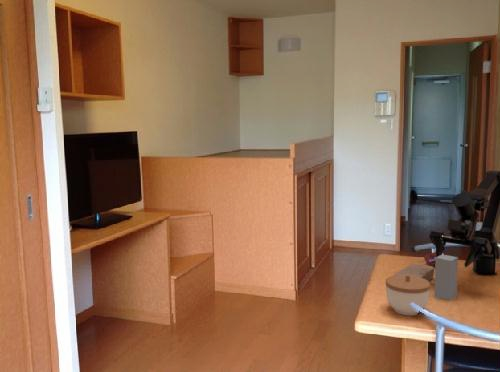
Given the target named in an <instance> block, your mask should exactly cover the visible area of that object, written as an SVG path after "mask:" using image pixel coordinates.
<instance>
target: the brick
mask: <svg viewBox="0 0 500 372" xmlns="http://www.w3.org/2000/svg"><path fill="white" fill-rule="evenodd" d="M395 275H411V276H416V277H420V278H423V279H426V280H427V281H429V282H430V281H431V280H433V278H434V277H435V266H434V267H433V265H427V264H419V263H410V264H409V265H407V266H406V267H404V268H402V269H400V270H399V271H396V272H395V273H393V276H395Z"/></svg>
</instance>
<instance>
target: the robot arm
mask: <svg viewBox="0 0 500 372" xmlns="http://www.w3.org/2000/svg"><path fill="white" fill-rule="evenodd" d="M451 204H452V206H453V207H454V210H455V211H456V214H457V215H458V216H459V217H458V220H455V219H448V221H447V225H446V230H448V231H449V233H448V234H449V235H450V236H445V233H444V232H443V231H439V230H434V229H433V230H431V231H430V232H429V235H428V238H429V239H430V241H431V243H432V245H433V246H435V252H436V257H438V256H440V255H442V253H443V254H444V251H445V248H446V247H445V246H446V245H447V243H449V244H453V245H459V246H465V247H469V248H470V251H469V253H468V255H467V257H466V260H465V262H464V267H465V268H468V266H470V265H471V264H472V270H473V271H474V272H475V273H476V274H477V275H481V276H482V275H483V276H488V275H489V276H497V275H498V273H497V272H496V263H497V262H496V260H500V247H499V245H498V239H497V237H496V234H495V233H496V230H497V226H498V223H499V218H500V170H487V171H486V173H485V176H484V177H483V179H481V181H480V182H479V183H478V185H477V187H476V188H475V189H471V190H470V191H468V190H462V191H461V193H457V194H455V196H453V197H452V199H451ZM479 212H485V214H484V217H483V221H482V224H481V228H480V229H477V230H475V228H476V227H477V223H480V214H479Z"/></svg>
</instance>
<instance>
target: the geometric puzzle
mask: <svg viewBox="0 0 500 372" xmlns="http://www.w3.org/2000/svg"><path fill="white" fill-rule="evenodd" d="M442 254H443V255H445V254H444V252H443V253H442ZM422 256H423V258H424V261H425V263H426V264H425V265H428V266H432V267H434V268H435V263H436V250H433V248H429V251H428V252H427V253H425V254H424V255H422ZM433 265H434V266H433Z"/></svg>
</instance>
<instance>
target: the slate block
mask: <svg viewBox="0 0 500 372" xmlns="http://www.w3.org/2000/svg"><path fill="white" fill-rule="evenodd" d="M443 254H444V253H443ZM443 254H442V255H440V256H438V257H436V263H434V295H433V296H434V298H436V299H442V300H445V301H449V302H450V301H452V300H454V299H456V298H457V294H458V293H457V289H458V287H457V286H458V269H459V267H458V266H459V263H458V262H459V257H458V256H453V255H448V254H444V255H443Z"/></svg>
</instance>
